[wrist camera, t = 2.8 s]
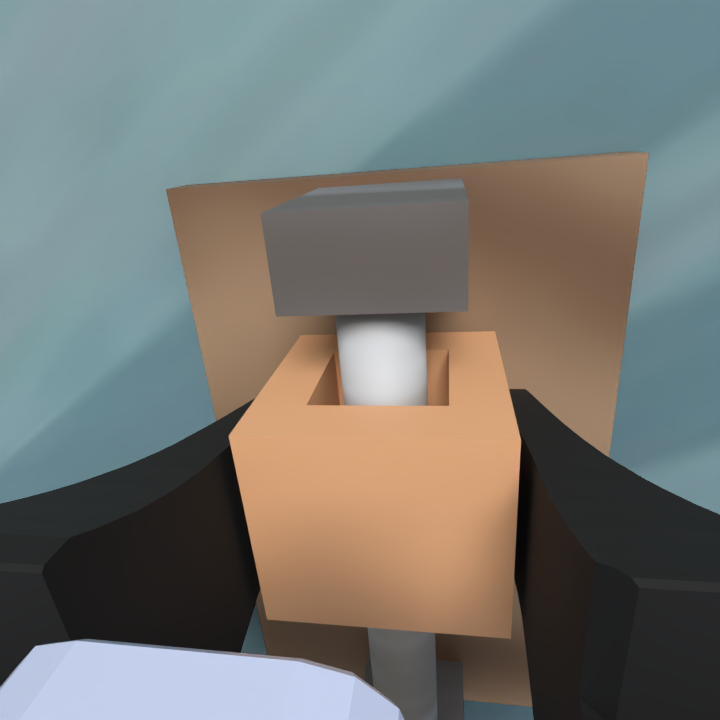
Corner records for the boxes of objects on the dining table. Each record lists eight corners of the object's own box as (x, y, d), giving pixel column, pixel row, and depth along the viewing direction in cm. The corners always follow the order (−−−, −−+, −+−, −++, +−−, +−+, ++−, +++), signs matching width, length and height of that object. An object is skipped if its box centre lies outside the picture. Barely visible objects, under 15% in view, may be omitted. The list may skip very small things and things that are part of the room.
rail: (568, 680, 17) (610, 866, 13) (281, 654, 19) (231, 810, 15) (632, 151, 11) (757, 164, 6) (186, 184, 12) (46, 213, 8)
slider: (491, 481, 13) (511, 638, 9) (319, 476, 14) (266, 619, 10) (495, 331, 11) (521, 440, 7) (300, 335, 12) (228, 436, 8)
